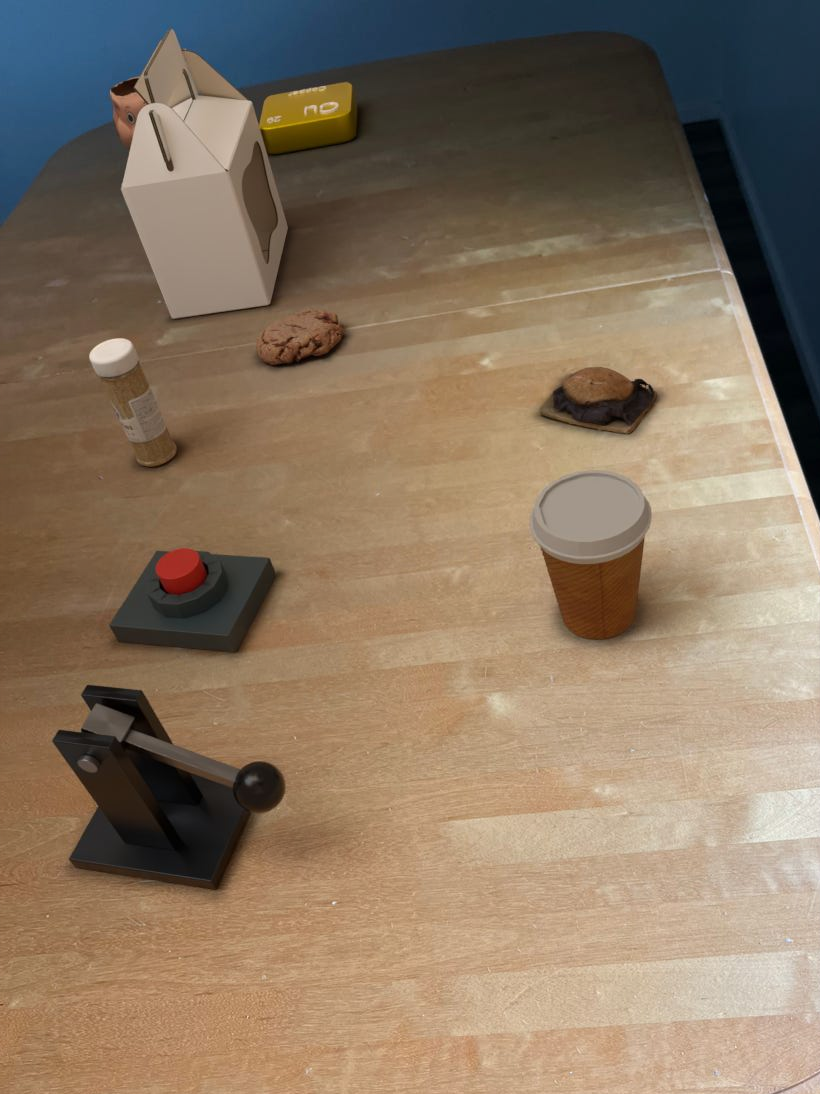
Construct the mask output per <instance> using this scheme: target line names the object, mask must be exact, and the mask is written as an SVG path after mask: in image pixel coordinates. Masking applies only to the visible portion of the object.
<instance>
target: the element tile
mask: <svg viewBox="0 0 820 1094" xmlns="http://www.w3.org/2000/svg"><path fill="white" fill-rule="evenodd" d="M353 87H354V86H353V85H352V83H350V82H349V81H344V82H337V83H332V84H331V83H330V84H327V85H321V86H315V87H309V88H303V89H300V90H293V91H287V92H281V93H276V94H271V95H268V96H267V97H266V98H265V99H264V101H263V105H262V110H261V115H260V120H259V123H258V124H259V128H260V131H261V135H262V138H263V142H264V146H265V149H266V153H267V155H272V156H273V155H275V156H276V155H282V154H288V153H294V152H300V151H305V150H310V149H311V150H312V149H316V148H321V147H328V146H334V145H339V144H344V143H348V142H351V141H352V140H354V139H355V138H356V136H357V123H358V106H357V101H356V97H355V91H354V88H353Z"/></svg>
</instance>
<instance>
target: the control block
mask: <svg viewBox="0 0 820 1094" xmlns="http://www.w3.org/2000/svg"><path fill="white" fill-rule="evenodd" d="M171 551H172V550H171ZM171 551H169V550H156V551H155V552H154V554H153V555H152V557H151V559H150V560H149V562H148V563H147V565H146V566H145V568H144V569H143V571H142V572H141V574H140V576H139V577H138V579H137V580H136V582H135V584H134V586H132V588H131V590H130V592H129V593H128V594H127V596H126V598H125V599H124V601H123V603H122V604H121V606H120V607H119V609H118V611H116V614H115V615H114V617H113V618H112V620H111V621H110V623H108V627H109V628H110V630H111V632H112V633H113V635H114V638H115V639H116V640H117V642H118V643H119V642H120V643H130V644H141V645H151V646H152V645H153V646H163V647H175V648H184V649H197V650H206V651H207V650H208V651H219V652H230V653H236V652H237V651H238V649H239V647H240V645H241V643H242V641H243V639H244V637H245V635H246V634H247V632H248V630H249V629H250V626H251V624H252V622H253V620H254V619H255V617H256V615H257V612H258V611H259V608H260V607H261V605H262V603H263V601H264V599H265V597H266V595H267V593H268V591H269V589H270V587H271V586H272V583H273V581H274V580H275V578H276V576H277V573H276V570H275V567H274V565H273V562H272V560H271V557H263V556H247V555H233V554H231V555H230V554H216V553H211V552H210V551H206V550H205V551H204V550H195V551H196V552H197V553H198V554H199V556H200V559H201V561H202V563H203V565H204V567H205V570H206V572H207V576H206V580H205V581H204V583H203V584H202V585H200V586H199V587H198V588H196V589H195V590H193V591H191V592H188V593H184V594H181V595H174V594H170V593H168V592H167V591H166V590H165V589H164V587H163V585H162V583H161V581H160V579H159V577H158V575H157V573H156V565H157V563H158V561H159V560H160V559H161V558H162V557H163V556H164V555H165V554H167V553H169V552H171Z"/></svg>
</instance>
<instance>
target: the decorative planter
mask: <svg viewBox="0 0 820 1094" xmlns="http://www.w3.org/2000/svg"><path fill="white" fill-rule="evenodd" d="M140 76H141V75H139V76H135V77H131V78H128V79H126V80H123V81H121V82H119V83H117V84H115V85H114V86H112V87H110V90H109V98H110V101H111V104H112V106H113V110H112V120H113V124H114V129H115V130H116V134H117V136H118V138H119V139H120V141H121V143H122V144H123V145H124V147H126V148H127V149H128V150H129V151H130V148H131V143H132V139H133V134H134V130H135V125H136V121H137V117H138V114H139V112H140V110H141V109H142V108H143V107H145V106H146V105H147V104H146V103H145V101H144V100H143V99H142V98H141V97H140V96H139V94H138V93H137V92H136V91H135V90H134V89H133V88H134V86H135V84H136V83H137V81H138V79H139V77H140Z"/></svg>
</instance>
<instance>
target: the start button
mask: <svg viewBox="0 0 820 1094" xmlns="http://www.w3.org/2000/svg"><path fill="white" fill-rule="evenodd" d="M196 551H197V550H196V549H193V548H187V547H182V548H176V549H173V550H171V552H169V553H167V554H165V555H164V556H163V557H162V558H161V559H160V560H159V561H158V563H157V565H156V573H157V575H158V577H159V579H160V581H161V583H162V585H163V587H164V589H165V590H166V591H167V592H168V593H170V594H174V595H181V594H184V593H188V592H191V591H193V590H195V589H196V588H198V587H199V586H200V585H202V584H203V583H204V581H205V580H206V576H207V572H206V570H205V567H204V565H203V563H202V561H201V559H200V556H199V554H198V553H197V552H196Z"/></svg>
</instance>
